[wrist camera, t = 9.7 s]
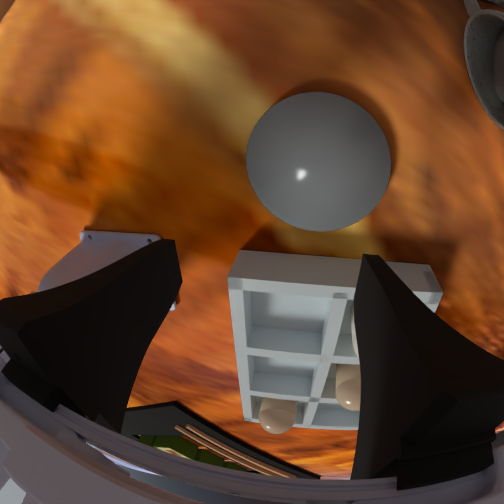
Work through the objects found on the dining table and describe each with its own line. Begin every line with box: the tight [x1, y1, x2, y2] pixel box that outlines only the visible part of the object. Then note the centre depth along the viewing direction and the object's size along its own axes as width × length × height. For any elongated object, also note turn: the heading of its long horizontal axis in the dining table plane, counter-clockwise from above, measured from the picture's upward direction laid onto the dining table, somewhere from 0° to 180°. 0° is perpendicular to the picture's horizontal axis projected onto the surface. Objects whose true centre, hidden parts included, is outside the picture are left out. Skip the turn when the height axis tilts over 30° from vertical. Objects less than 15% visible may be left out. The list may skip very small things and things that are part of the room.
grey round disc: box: [246, 92, 391, 231], centre depth 17 cm, size 9×9×1 cm
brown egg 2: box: [336, 363, 361, 411], centre depth 22 cm, size 4×4×5 cm
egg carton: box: [227, 250, 443, 430], centre depth 25 cm, size 15×22×4 cm
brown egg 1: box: [259, 397, 298, 434], centre depth 27 cm, size 4×4×5 cm
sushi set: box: [121, 401, 320, 480], centre depth 54 cm, size 45×45×4 cm
